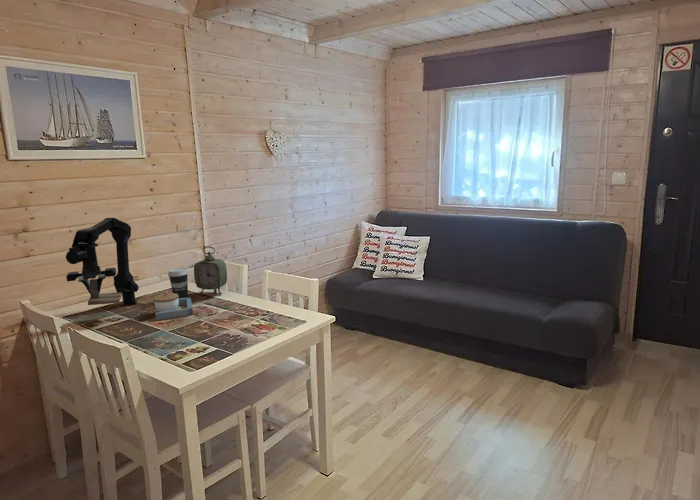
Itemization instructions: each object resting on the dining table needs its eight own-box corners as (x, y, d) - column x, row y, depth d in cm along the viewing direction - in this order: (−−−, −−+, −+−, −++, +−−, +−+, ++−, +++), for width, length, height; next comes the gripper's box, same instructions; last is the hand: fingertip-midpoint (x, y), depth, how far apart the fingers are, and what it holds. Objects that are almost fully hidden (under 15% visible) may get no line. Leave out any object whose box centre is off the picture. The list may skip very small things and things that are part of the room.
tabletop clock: (196, 295, 242) (191, 247, 237) (205, 290, 251) (200, 244, 246) (221, 296, 239) (217, 248, 234) (230, 291, 248) (226, 244, 242)
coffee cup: (166, 301, 235) (163, 271, 232) (178, 295, 244) (175, 267, 241) (183, 302, 232) (179, 272, 229) (194, 296, 241) (191, 267, 238)
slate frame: (157, 307, 225) (156, 301, 225) (191, 302, 231) (190, 297, 230) (156, 320, 208) (155, 313, 207) (193, 314, 213) (192, 308, 213)
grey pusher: (92, 297, 213) (90, 277, 211) (121, 295, 217) (120, 275, 216) (88, 305, 202) (86, 283, 200) (119, 302, 206) (117, 281, 205)
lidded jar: (184, 309, 222) (182, 289, 220) (171, 317, 212) (169, 297, 210) (164, 308, 224) (161, 289, 222) (150, 316, 214) (147, 296, 212)
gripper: (60, 265, 194) (67, 301, 197) (111, 259, 200) (116, 295, 204) (66, 259, 204) (72, 294, 208) (114, 254, 211) (118, 288, 214)
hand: (94, 293), depth 208 cm, fingers closed on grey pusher, 3 cm apart
